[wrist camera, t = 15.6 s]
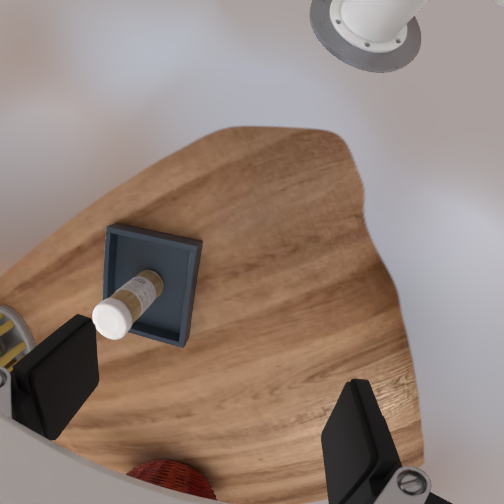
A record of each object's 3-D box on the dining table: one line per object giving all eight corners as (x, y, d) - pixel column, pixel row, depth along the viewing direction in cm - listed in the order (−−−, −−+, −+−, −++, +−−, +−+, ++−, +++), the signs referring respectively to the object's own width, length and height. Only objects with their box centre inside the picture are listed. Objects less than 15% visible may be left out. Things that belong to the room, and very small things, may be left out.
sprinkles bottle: (133, 289, 44) (88, 329, 31) (141, 263, 43) (94, 296, 30) (159, 302, 44) (121, 347, 31) (169, 276, 43) (129, 316, 30)
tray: (116, 222, 43) (106, 226, 40) (202, 241, 42) (197, 246, 39) (111, 315, 46) (102, 323, 43) (188, 337, 46) (183, 348, 43)
